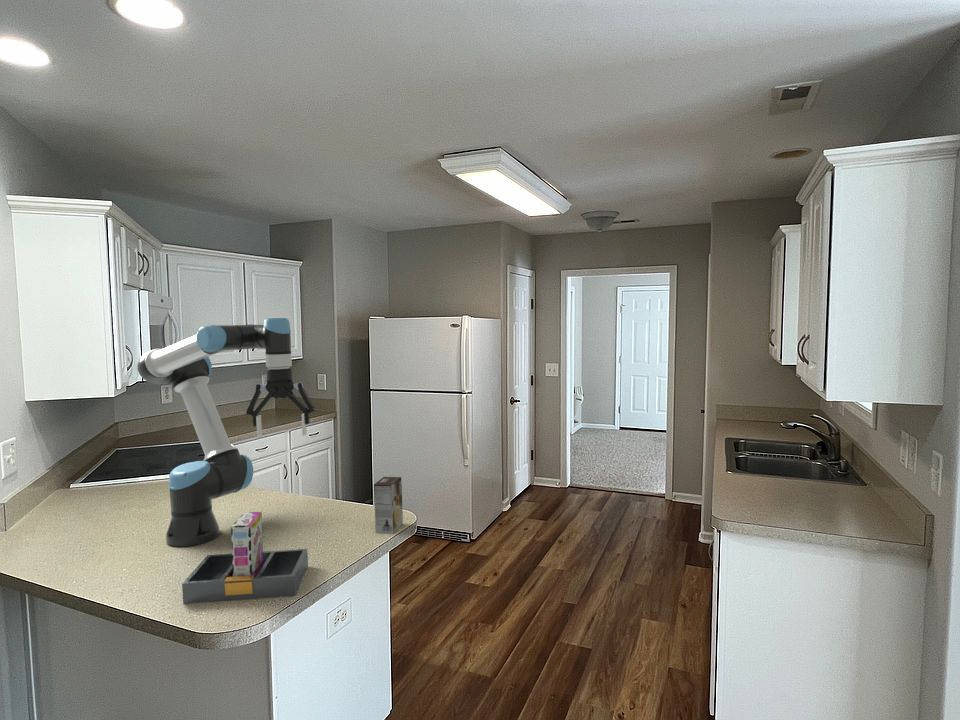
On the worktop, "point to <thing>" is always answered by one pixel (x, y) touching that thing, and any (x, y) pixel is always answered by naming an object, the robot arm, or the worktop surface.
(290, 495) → the worktop surface
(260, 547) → the candy bar box
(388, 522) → the coffee box
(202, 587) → the bay rack
